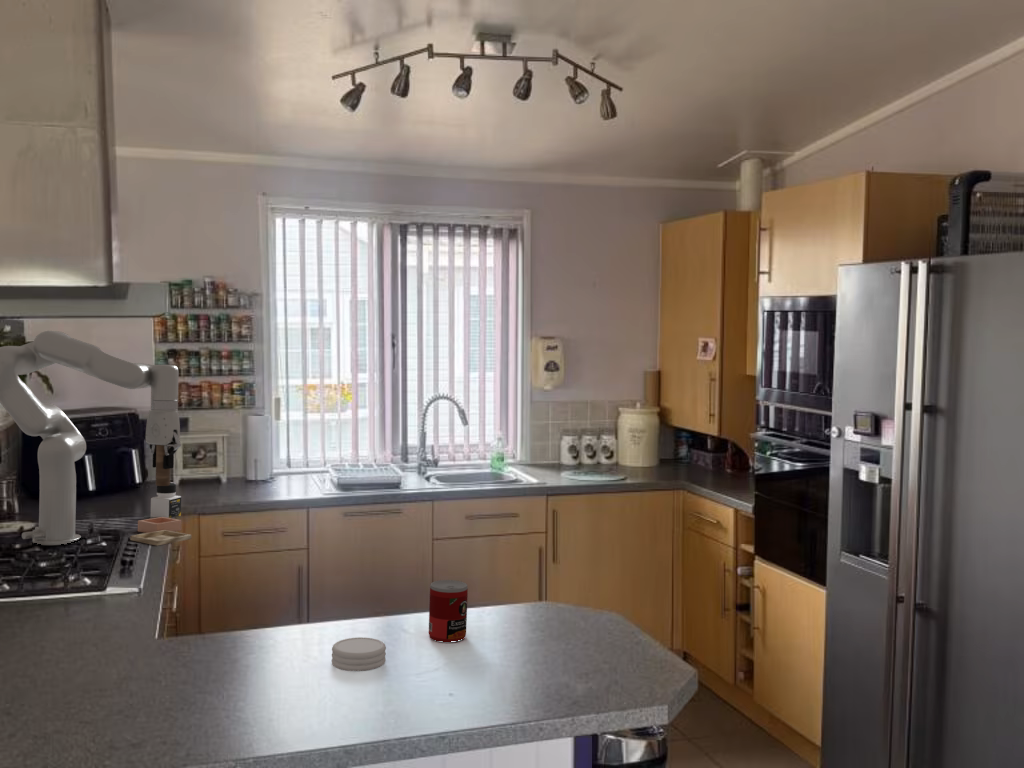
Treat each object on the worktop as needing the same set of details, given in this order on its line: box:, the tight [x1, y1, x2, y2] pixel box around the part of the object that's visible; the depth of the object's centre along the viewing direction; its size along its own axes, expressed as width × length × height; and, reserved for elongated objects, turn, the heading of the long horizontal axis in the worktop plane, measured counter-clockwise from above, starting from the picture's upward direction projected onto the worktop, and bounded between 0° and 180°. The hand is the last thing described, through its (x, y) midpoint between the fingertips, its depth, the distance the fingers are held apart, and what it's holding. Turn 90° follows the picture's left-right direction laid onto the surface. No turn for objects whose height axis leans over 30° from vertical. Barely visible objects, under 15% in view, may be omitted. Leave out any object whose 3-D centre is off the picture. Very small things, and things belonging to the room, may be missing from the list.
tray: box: [129, 530, 192, 547], centre depth 261 cm, size 12×12×2 cm
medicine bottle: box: [150, 481, 182, 519], centre depth 299 cm, size 7×7×12 cm
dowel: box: [154, 443, 171, 487], centre depth 261 cm, size 4×4×14 cm
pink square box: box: [137, 517, 182, 534], centre depth 274 cm, size 9×9×4 cm
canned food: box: [428, 579, 469, 642], centre depth 181 cm, size 8×8×11 cm
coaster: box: [331, 637, 387, 672], centre depth 165 cm, size 10×10×4 cm
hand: (162, 467), depth 261 cm, fingers closed on dowel, 4 cm apart
